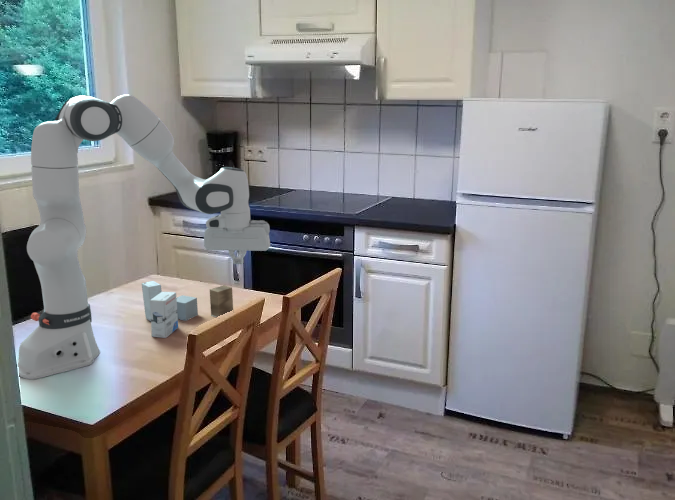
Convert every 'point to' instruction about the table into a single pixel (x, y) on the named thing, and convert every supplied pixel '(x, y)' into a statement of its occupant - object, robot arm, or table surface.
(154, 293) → the skincare box
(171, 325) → the ink box
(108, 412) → the table surface
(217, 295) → the walnut block
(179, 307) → the slate block
